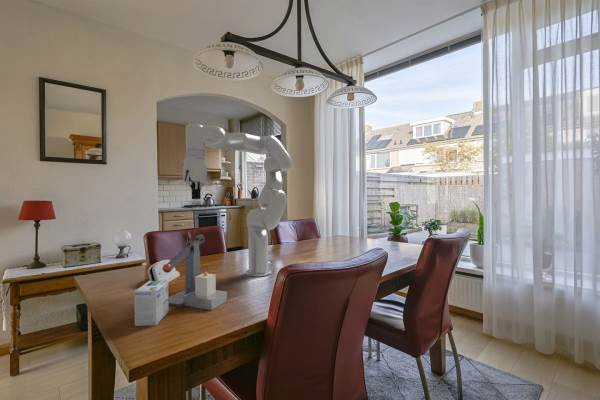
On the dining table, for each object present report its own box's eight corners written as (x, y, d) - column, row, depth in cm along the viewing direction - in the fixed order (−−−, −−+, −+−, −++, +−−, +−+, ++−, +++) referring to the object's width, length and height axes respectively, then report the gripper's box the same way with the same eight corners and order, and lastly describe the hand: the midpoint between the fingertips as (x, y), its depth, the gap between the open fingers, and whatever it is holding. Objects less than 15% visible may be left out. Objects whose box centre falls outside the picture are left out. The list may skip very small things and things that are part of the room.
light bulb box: (148, 312, 100) (148, 280, 100) (169, 311, 101) (169, 279, 101) (133, 326, 90) (133, 290, 89) (157, 325, 90) (156, 290, 90)
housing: (204, 290, 111) (204, 269, 111) (215, 291, 110) (215, 271, 110) (195, 294, 107) (195, 273, 107) (207, 296, 105) (207, 274, 105)
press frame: (192, 289, 124) (191, 240, 123) (236, 295, 117) (236, 243, 116) (159, 303, 108) (159, 248, 107) (208, 311, 101) (208, 252, 100)
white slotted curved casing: (162, 286, 128) (154, 264, 128) (152, 289, 128) (144, 267, 128) (180, 275, 145) (173, 255, 145) (171, 278, 145) (164, 258, 145)
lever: (199, 240, 127) (197, 233, 125) (206, 240, 126) (204, 234, 124) (162, 274, 107) (159, 266, 106) (169, 274, 106) (166, 267, 105)
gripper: (200, 157, 133) (200, 198, 133) (175, 152, 119) (175, 199, 119) (214, 156, 130) (214, 198, 131) (190, 152, 116) (191, 199, 117)
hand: (196, 198), depth 125 cm, fingers closed
